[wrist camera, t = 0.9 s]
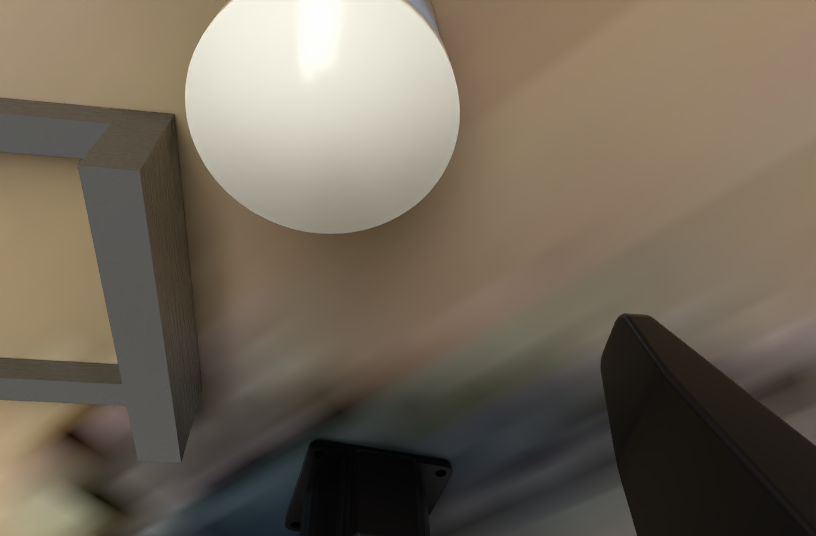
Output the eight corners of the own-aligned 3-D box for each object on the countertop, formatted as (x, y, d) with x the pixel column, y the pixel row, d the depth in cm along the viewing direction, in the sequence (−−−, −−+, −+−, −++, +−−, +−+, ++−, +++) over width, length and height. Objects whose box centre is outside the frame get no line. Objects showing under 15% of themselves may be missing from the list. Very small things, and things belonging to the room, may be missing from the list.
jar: (406, 155, 21) (414, 256, 16) (219, 107, 19) (173, 202, 15) (469, -36, 17) (500, 26, 13) (248, -108, 16) (201, -65, 12)
